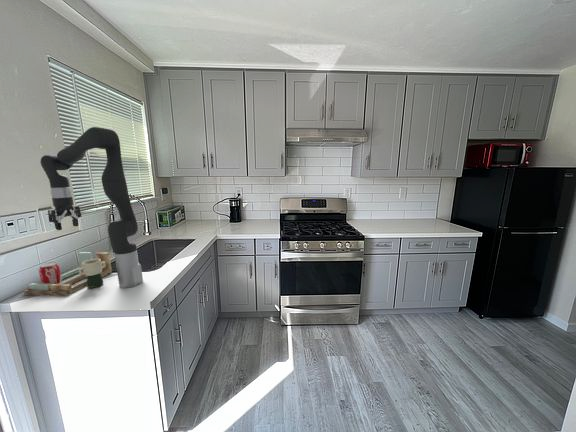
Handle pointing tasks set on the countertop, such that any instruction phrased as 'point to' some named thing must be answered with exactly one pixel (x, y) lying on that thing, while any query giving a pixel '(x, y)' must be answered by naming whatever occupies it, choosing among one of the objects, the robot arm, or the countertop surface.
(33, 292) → the frame
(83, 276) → the oak sled
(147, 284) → the countertop surface
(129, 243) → the robot arm
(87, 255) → the sage sled
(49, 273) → the soda can
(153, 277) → the countertop surface
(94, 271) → the character mug
